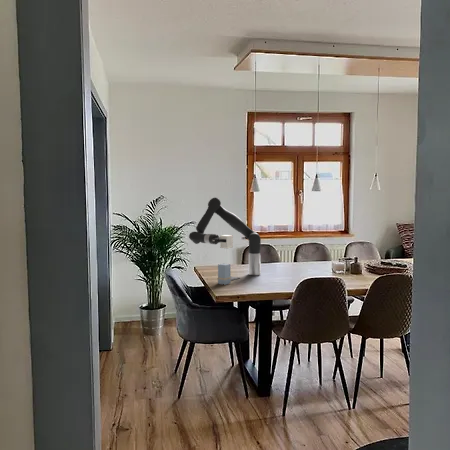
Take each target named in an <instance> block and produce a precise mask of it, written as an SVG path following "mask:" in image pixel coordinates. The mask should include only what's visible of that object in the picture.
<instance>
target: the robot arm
mask: <svg viewBox="0 0 450 450" xmlns="http://www.w3.org/2000/svg"><path fill="white" fill-rule="evenodd" d="M221 203H222V202H221V200H220V198H219V197H212V198H210V200H209V201H208V203H207V209H206V210H205V212H204V214H203V215H202V216H201V218H200V219H199V221H198V223H197V225H196V227H195V230H196V231H191V232H190V233H189V235H188V237H189V240H191V242H192V243H194V244H195V245H198V244H200V243H202V244H208V245H218V244H220V242H226V239H220V235H218V234H215V233H205V230H206V229H207V227H208V225H209V224H210V221H211V220H212V217H213V216H214V215H215V214H216V215H218V216H219V217H220V218H221V219H222V220H223V221H224V222H225V223H227V224H228V225H229V226H230V227H231V228H232V229H234V230H235V231H236V232H238V233H239V234H240V233H241V234H242V236H244V237H245V238H246V239H247V240H248V275H250V276H260V275H261V273H262V270H261V269H262V266H261V264H262V263H261V249H262V247H261V243H262V241H261V239H262V238H261V236H260V234H259V233H257V232H256V231H254V230H253V229H251V228H250V227H249V226H247V224H246V223H245V222H244V221H243V220H242V219H241V218H240V217H239V216H237V215H236V214H235V213H233V212H231V211H229V210H227V209H226V208H224V207H223V206H222V205H221Z"/></svg>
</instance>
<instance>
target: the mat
mask: <svg viewBox="0 0 450 450" xmlns="http://www.w3.org/2000/svg"><path fill="white" fill-rule="evenodd" d="M239 279H241V278H240V277H238V276H232V275H231V281H234V280H235V281H236V280H239Z"/></svg>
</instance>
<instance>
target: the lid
mask: <svg viewBox="0 0 450 450" xmlns="http://www.w3.org/2000/svg"><path fill="white" fill-rule="evenodd" d="M219 237H220V239H226V242H220V243H219V245H220V246H219V247H220V248H221V249H232V248H233V247H234V245H233V243H234V241H233V240H234V239H233V238H234V236H233V235H231V234H222V235H219Z"/></svg>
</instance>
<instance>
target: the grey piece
mask: <svg viewBox="0 0 450 450" xmlns="http://www.w3.org/2000/svg"><path fill="white" fill-rule="evenodd" d="M231 271H232V270H231V263H220V264H217V284H218V285H223V284H224V285H223V286H225V285H229V283H230V284H231V283H232V282H231V276H232V275H231Z"/></svg>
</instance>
